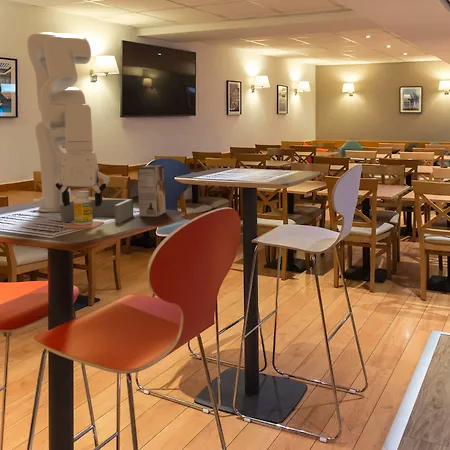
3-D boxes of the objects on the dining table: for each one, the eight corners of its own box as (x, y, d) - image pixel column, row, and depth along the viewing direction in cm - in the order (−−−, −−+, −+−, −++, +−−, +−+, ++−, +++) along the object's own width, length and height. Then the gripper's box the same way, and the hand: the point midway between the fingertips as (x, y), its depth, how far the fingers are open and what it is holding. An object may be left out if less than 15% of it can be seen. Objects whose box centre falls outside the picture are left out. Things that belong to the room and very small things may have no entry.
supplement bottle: (83, 221, 177) (81, 190, 176) (96, 222, 175) (95, 190, 173) (70, 224, 172) (68, 192, 171) (84, 225, 170) (82, 192, 168)
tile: (63, 228, 170) (63, 226, 170) (75, 223, 178) (75, 221, 178) (93, 228, 168) (93, 226, 168) (103, 223, 177) (103, 221, 177)
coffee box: (148, 212, 199) (146, 165, 196) (166, 212, 198) (164, 165, 195) (138, 216, 190) (136, 167, 187) (157, 216, 189) (156, 166, 186)
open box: (61, 222, 180) (60, 205, 179) (79, 215, 194) (78, 198, 193) (119, 223, 177) (118, 205, 176) (133, 215, 192) (132, 199, 191)
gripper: (45, 148, 167) (49, 207, 170) (103, 148, 165) (106, 208, 168) (56, 146, 174) (59, 203, 178) (112, 146, 172) (114, 204, 175)
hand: (82, 205), depth 173 cm, fingers open, 9 cm apart
